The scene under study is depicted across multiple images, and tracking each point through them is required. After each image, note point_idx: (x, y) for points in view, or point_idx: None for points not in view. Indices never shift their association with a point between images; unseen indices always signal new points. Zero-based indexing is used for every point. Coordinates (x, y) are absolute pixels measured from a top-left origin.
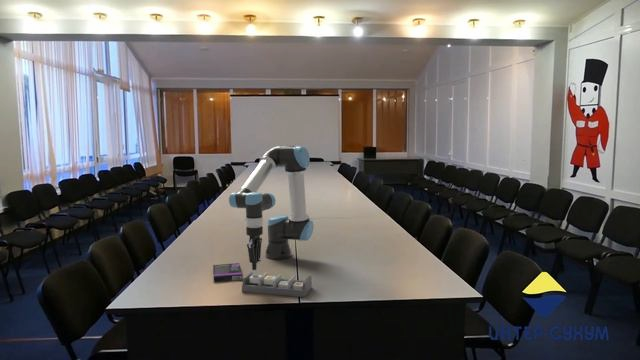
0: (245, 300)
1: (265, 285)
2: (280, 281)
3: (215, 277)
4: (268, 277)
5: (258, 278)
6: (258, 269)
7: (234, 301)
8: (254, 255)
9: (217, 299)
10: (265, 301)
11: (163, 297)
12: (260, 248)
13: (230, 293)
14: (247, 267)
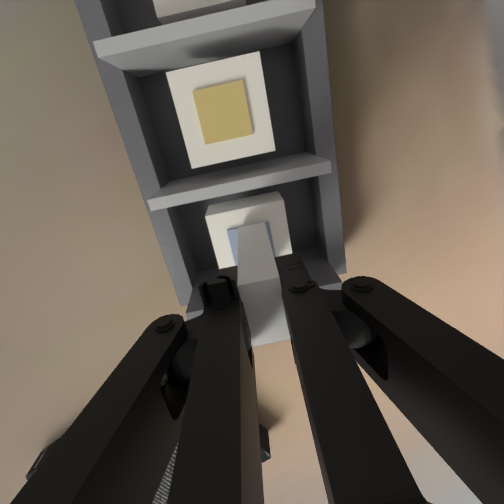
0: (452, 158)
1: (200, 174)
2: (179, 12)
3: (266, 448)
4: (234, 121)
5: (279, 200)
6: (240, 246)
7: (476, 208)
8: (440, 350)
9: (464, 300)
10: (445, 10)
11: None
12: (65, 473)
13: None
14: (10, 426)
